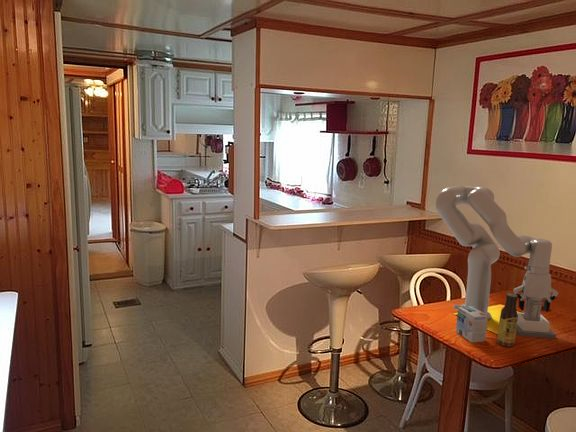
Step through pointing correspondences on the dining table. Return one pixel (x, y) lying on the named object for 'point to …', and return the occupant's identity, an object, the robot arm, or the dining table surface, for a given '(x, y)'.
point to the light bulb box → (471, 324)
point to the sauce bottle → (508, 321)
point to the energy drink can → (533, 309)
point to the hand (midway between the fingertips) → (533, 309)
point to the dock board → (534, 327)
